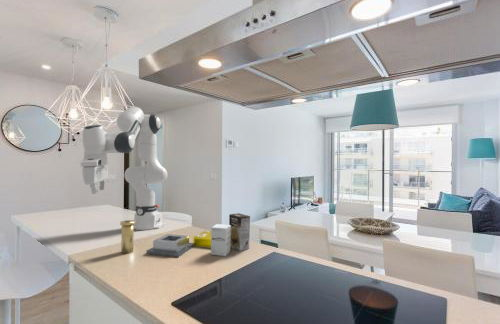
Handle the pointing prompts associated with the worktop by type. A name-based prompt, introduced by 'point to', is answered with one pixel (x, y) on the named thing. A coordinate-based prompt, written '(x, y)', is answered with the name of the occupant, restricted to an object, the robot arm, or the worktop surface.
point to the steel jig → (171, 245)
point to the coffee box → (239, 231)
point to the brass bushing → (127, 236)
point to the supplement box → (220, 239)
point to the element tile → (203, 239)
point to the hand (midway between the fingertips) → (98, 191)
